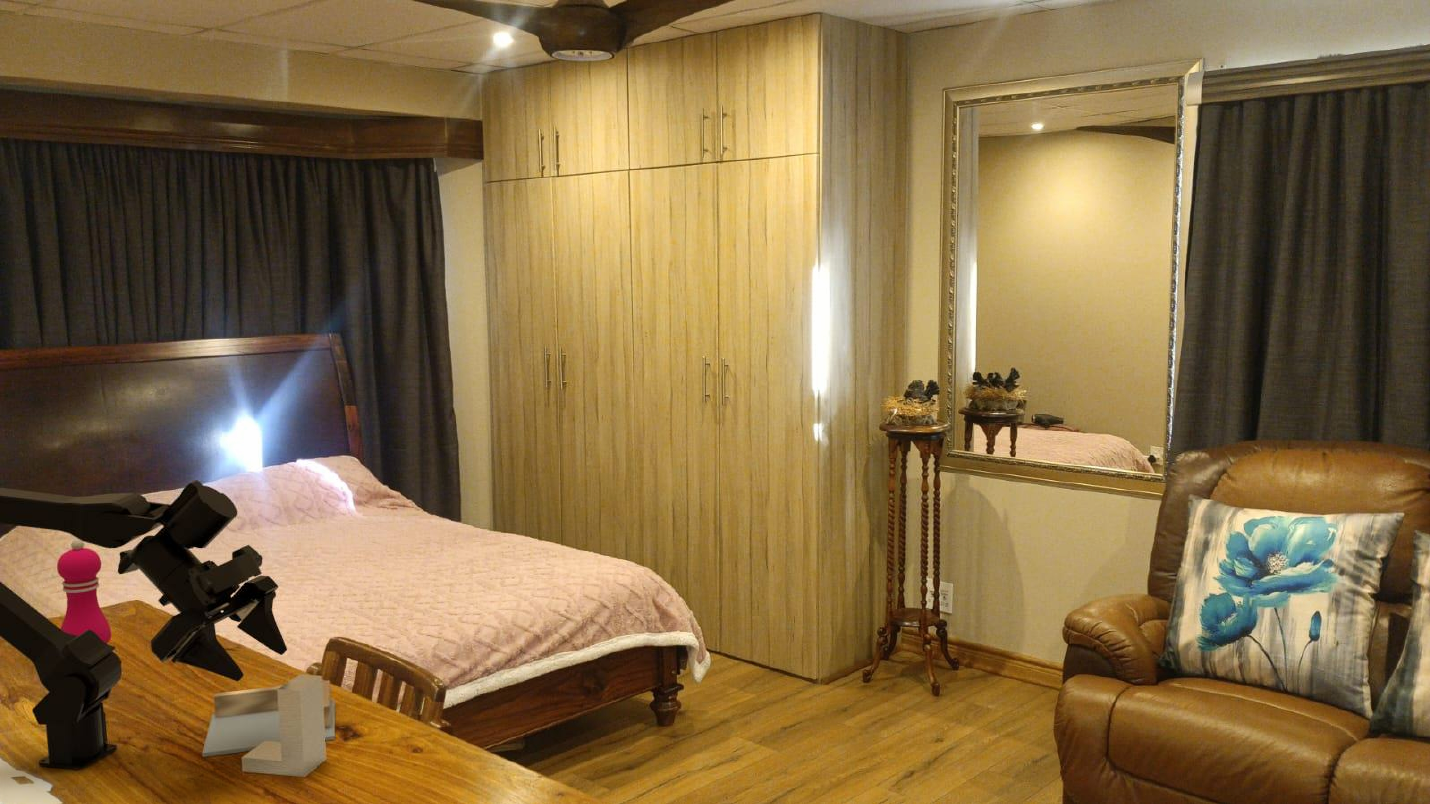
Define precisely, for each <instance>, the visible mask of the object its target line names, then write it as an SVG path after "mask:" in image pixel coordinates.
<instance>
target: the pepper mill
mask: <svg viewBox="0 0 1430 804" xmlns="http://www.w3.org/2000/svg"><path fill="white" fill-rule="evenodd" d="M70 545H71V548H72V549H69V550H67V551H65V552H64V553H62V554H61V555H60V557H59V558H58V561H57V565H56V568H57V569H56V570H57V574H58V575H59V577H61V578H62V579H63V581H62V582H61V584H62V591H63V592H64V593H65V594H66V611H65V614H64V618H63V621H62V623H61V626H60V627H59V628H60V629H61V630H62V631H64V632H66V633H69V634H72V635H76V636H79V635H81V634H82V633H84V632H85V631H87V630H89V629H90V630H92V631H93V632H95V633H96V634H97V635H98V636H99V637H100V639H101V640H103V641H104V642H105V643H107V644H108V643H109V642H110V641H111V638H112V629H111V625H110V624H109V622H108V619H107V618H106V616H105V614H104V613H103V611H102V609H101V607H100V605H99V604H100V603H99V599H98V595H97V591H98V590H97V589H98V588H99V587H100V583H99V580H100V579H99V577H97V575H98V574H99V572H100V571H101V569H102V560H101V558H100V557H101V556H100V555H99V554H98V553H97V552H96V551H95V550H93V549H92V548H87V547H85V542H84V541H81V540H79V539H78V538H76V539H73V540H72V542H71V543H70Z"/></svg>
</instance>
